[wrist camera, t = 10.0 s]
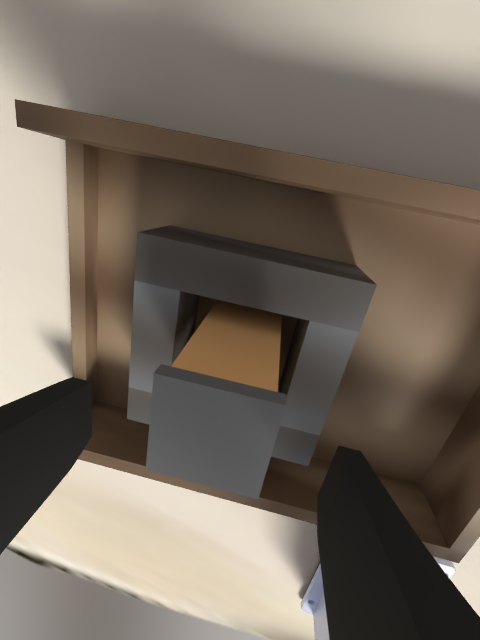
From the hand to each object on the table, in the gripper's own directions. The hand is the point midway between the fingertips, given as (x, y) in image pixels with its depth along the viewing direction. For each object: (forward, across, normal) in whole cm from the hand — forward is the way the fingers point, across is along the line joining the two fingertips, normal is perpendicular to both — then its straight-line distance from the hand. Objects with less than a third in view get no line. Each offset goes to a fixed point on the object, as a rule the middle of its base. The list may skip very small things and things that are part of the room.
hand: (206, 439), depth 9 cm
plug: (+8, 0, 0) cm, 8 cm away
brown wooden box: (+8, -2, 0) cm, 9 cm away
